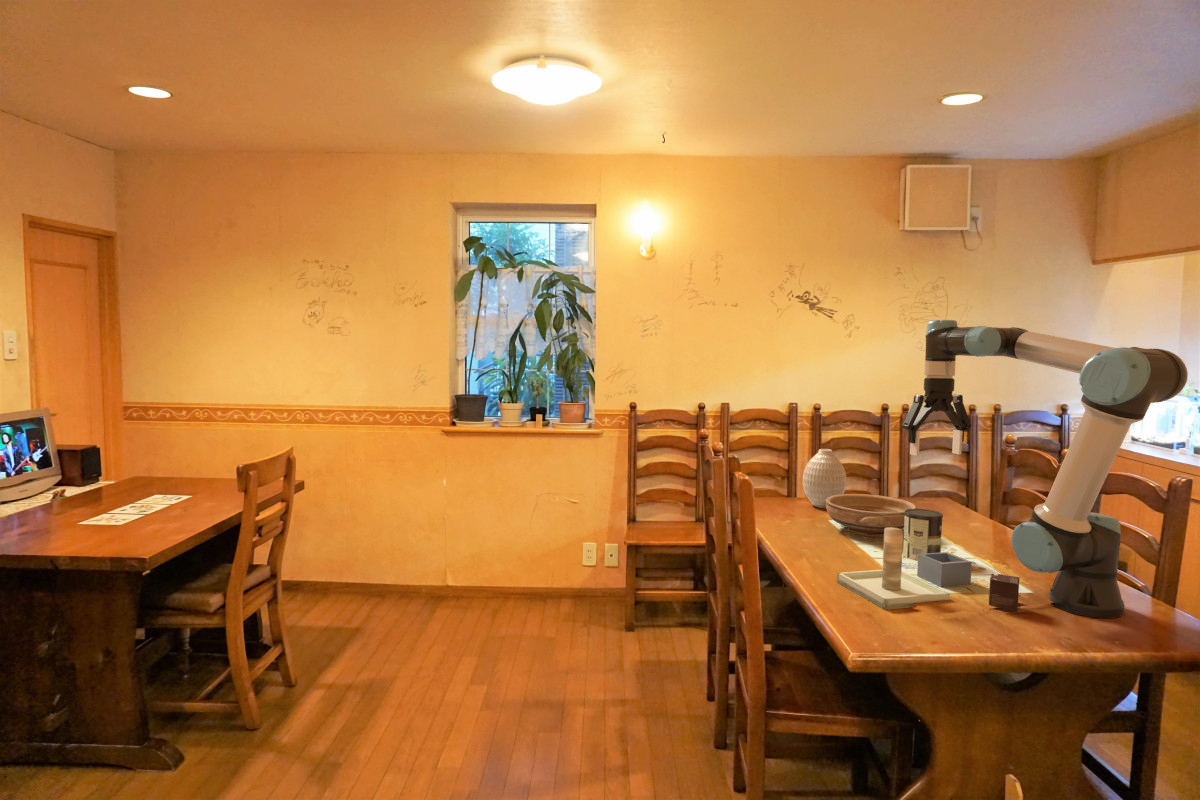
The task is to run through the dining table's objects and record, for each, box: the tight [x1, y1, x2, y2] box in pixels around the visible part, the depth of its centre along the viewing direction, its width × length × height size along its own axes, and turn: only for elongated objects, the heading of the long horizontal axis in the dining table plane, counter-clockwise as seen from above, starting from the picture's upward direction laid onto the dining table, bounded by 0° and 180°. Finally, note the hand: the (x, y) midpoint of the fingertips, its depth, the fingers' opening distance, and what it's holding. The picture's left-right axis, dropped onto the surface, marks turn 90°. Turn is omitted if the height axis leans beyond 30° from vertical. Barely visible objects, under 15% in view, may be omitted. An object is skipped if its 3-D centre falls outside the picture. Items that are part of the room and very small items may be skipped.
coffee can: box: [902, 508, 944, 562], centre depth 211 cm, size 10×10×14 cm
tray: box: [836, 568, 951, 611], centre depth 183 cm, size 20×18×3 cm
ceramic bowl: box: [825, 493, 918, 538], centre depth 242 cm, size 37×29×10 cm
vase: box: [802, 448, 847, 509], centre depth 280 cm, size 16×16×22 cm
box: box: [988, 573, 1020, 614], centre depth 173 cm, size 6×6×7 cm
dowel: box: [882, 528, 904, 591], centre depth 182 cm, size 4×4×15 cm
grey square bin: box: [916, 551, 973, 588], centre depth 190 cm, size 9×9×7 cm
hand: (935, 454), depth 198 cm, fingers open, 13 cm apart
